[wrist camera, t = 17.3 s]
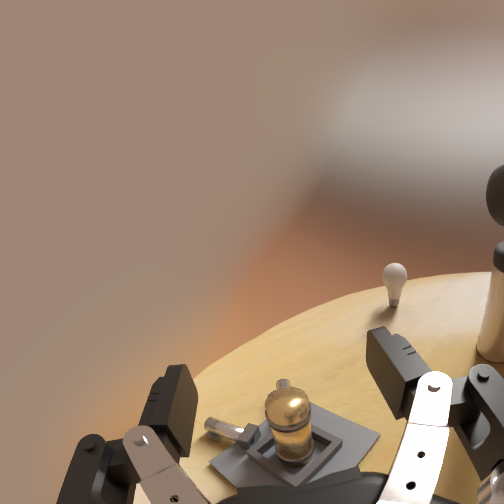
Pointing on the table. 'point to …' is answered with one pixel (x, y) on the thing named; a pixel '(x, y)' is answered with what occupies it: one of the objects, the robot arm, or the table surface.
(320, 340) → the table surface
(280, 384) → the shaft
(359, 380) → the table surface
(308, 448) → the gold cylindrical piece
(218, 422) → the shaft
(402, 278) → the lightbulb
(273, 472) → the stand
